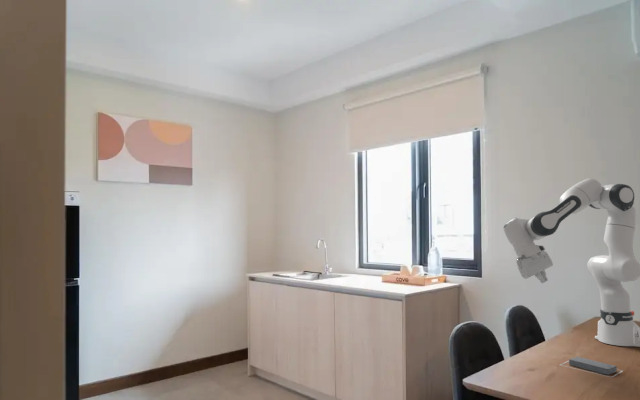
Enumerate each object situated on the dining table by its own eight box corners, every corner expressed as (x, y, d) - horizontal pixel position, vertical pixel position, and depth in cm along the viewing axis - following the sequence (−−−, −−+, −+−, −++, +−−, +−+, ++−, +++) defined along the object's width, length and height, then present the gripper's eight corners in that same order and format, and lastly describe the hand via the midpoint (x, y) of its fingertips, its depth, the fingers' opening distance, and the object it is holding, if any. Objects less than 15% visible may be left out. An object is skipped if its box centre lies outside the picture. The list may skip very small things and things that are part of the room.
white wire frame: (571, 359, 176) (623, 370, 161) (571, 360, 175) (623, 372, 161) (559, 364, 169) (612, 377, 155) (559, 366, 169) (612, 378, 155)
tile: (577, 356, 172) (616, 366, 160) (578, 363, 172) (616, 373, 160) (569, 359, 169) (607, 369, 157) (569, 365, 169) (608, 376, 157)
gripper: (520, 256, 186) (538, 286, 182) (545, 245, 198) (562, 273, 194) (509, 261, 191) (526, 291, 187) (534, 250, 202) (550, 277, 198)
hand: (545, 281), depth 190 cm, fingers closed
